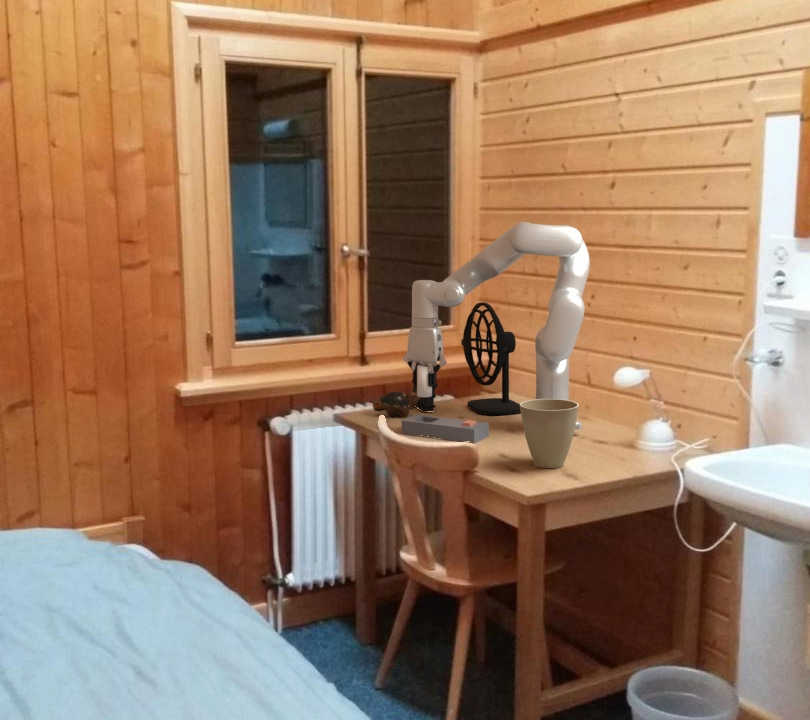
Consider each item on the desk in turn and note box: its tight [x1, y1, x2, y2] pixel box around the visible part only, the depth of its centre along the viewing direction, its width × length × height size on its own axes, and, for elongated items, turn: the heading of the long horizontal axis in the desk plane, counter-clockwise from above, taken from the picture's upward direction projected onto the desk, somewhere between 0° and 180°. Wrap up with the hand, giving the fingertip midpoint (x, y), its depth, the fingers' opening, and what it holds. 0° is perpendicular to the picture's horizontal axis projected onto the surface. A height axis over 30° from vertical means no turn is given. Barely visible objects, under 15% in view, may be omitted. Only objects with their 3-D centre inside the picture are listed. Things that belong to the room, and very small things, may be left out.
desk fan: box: [460, 301, 521, 416], centre depth 315 cm, size 27×18×35 cm, turn 17°
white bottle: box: [417, 362, 432, 397], centre depth 285 cm, size 4×4×11 cm
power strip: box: [401, 413, 490, 444], centre depth 285 cm, size 24×9×5 cm, turn 59°
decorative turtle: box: [372, 391, 420, 418], centre depth 310 cm, size 10×15×8 cm, turn 87°
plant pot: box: [519, 398, 580, 469], centre depth 251 cm, size 15×15×16 cm
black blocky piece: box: [411, 363, 438, 412], centre depth 318 cm, size 4×13×15 cm, turn 22°
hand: (424, 384), depth 286 cm, fingers closed on white bottle, 4 cm apart
